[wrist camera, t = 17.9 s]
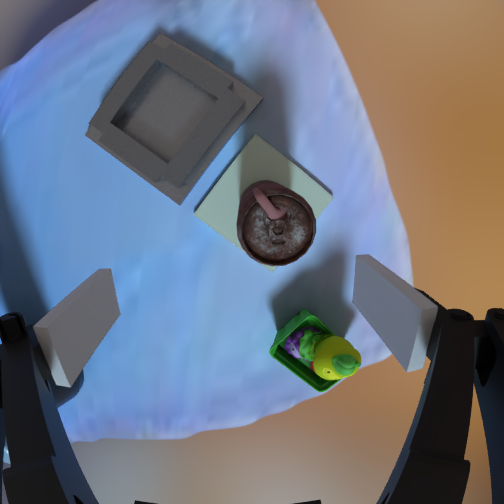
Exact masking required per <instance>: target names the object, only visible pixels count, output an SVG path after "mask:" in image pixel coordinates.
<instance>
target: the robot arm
mask: <svg viewBox="0 0 504 504" xmlns="http://www.w3.org/2000/svg"><path fill="white" fill-rule="evenodd" d="M352 302H353V304H354V305H355V306H356V307H357V309H358V310H359V311H360V312H361V314H362V315H363V316H364V317H365V319H366V320H367V321H368V322H369V324H370V325H371V326H372V328H373V329H374V330H375V331H376V333H377V334H378V335H379V337H380V338H381V339H382V340H383V342H384V343H385V344H386V346H387V347H388V348H389V350H390V351H391V352H392V353H393V355H394V356H395V357H396V359H397V360H398V361H399V363H400V364H401V365H402V367H403V368H404V369H405V371H406V372H410V371H414V370H418V369H421V368H423V364H424V361H425V358H426V356H427V357H428V358H429V359H430V360H431V363H430V366H429V369H428V372H427V375H426V378H425V381H424V388H423V391H422V395H421V398H420V401H419V404H418V407H417V410H416V413H415V416H414V419H413V422H412V425H411V427H410V430H409V433H408V435H407V438H406V441H405V443H404V446H403V448H402V451H401V453H400V455H399V458H398V460H397V462H396V465H395V467H394V469H393V471H392V474H391V476H390V478H389V480H388V482H387V484H386V486H385V488H384V490H383V492H382V494H381V496H380V498H379V500H378V502H377V503H376V504H462V501H463V497H464V493H465V489H466V485H467V481H468V477H469V472H470V462H469V461H468V460H464V454H465V449H466V444H467V437H468V432H469V425H470V417H471V408H472V397H473V384H474V386H475V389H476V393H477V398H478V402H479V406H480V411H481V415H482V420H483V426H484V431H485V436H486V443H487V449H488V457H489V465H490V475H491V488H492V504H504V309H502V308H491V309H489V310H488V311H487V314H486V318H485V320H474V318H473V316H472V315H471V314H470V313H468V312H466V311H464V310H461V309H448V310H447V309H445V308H444V307H443V306H442V305H440V304H439V303H438V302H437V301H434V299H433V298H431V297H429V295H427V294H426V293H425V292H424V291H421V290H419V289H416V288H414V287H412V286H411V285H410V284H408V283H407V282H406V281H404V280H403V279H402V278H400V277H399V276H398V275H396V274H395V273H394V272H392V271H391V270H390V269H388V268H387V267H385V266H384V265H383V264H381V263H380V262H379V261H377V260H376V259H374V258H373V257H372V256H370V255H369V254H367V255H356V263H355V278H354V290H353V301H352ZM119 316H120V310H119V306H118V301H117V297H116V292H115V287H114V282H113V277H112V272H111V269H98V270H97V271H96V272H95V273H94V274H92V275H91V276H90V277H89V278H88V279H86V280H85V281H84V282H83V283H82V284H80V285H79V286H78V287H77V288H76V289H74V290H73V291H72V292H71V293H70V294H69V295H68V296H66V297H65V298H64V299H63V300H62V301H61V302H60V303H58V304H57V305H56V306H55V307H54V308H53V309H52V310H51V311H49V312H48V313H47V314H46V315H45V316H44V317H43V318H41V319H40V320H39V321H38V322H37V323H36V324H35V325H34V326H28V327H26V326H25V323H24V320H23V317H22V314H21V313H19V312H12V313H8V314H5V315H3V316H1V317H0V338H1V341H2V344H0V504H2V471H3V481H4V486H5V490H6V495H7V499H8V503H9V504H99V503H98V501H97V500H96V498H95V496H94V494H93V492H92V490H91V488H90V486H89V484H88V483H87V480H86V478H85V476H84V474H83V472H82V470H81V468H80V466H79V464H78V461H77V459H76V457H75V454H74V452H73V450H72V447H71V445H70V442H69V440H68V437H67V435H66V432H65V429H64V427H63V424H62V421H61V418H60V415H59V412H58V409H57V408H58V407H60V406H61V405H63V404H65V403H66V402H68V401H69V400H71V399H72V398H74V397H75V396H76V395H77V394H78V392H79V390H80V389H81V387H82V385H83V382H84V376H83V371H82V369H83V368H84V366H85V365H86V363H87V362H88V360H89V359H90V357H91V356H92V354H93V353H94V351H95V350H96V348H97V347H98V346H99V344H100V343H101V341H102V340H103V338H104V337H105V335H106V334H107V333H108V331H109V330H110V328H111V327H112V325H113V324H114V323H115V321H116V320H117V318H118V317H119ZM3 461H4V462H6V463H9V464H11V467H10V468H7V469H4V470H2V469H3ZM134 504H156V503H148V502H141V501H135V503H134ZM294 504H321V501H320V500H315V501H309V502H302V503H294Z"/></svg>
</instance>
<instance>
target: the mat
mask: <svg viewBox="0 0 504 504" xmlns="http://www.w3.org/2000/svg"><path fill="white" fill-rule="evenodd" d="M261 180H270V181H274V182H277V183H279V184H281V185H283V186H285V187H287V188H289V189H291V190H293V191H294V192H296V193H297V194H299V195H300V196H302V197H303V198H304V199H305V200H306V201H307V202H308V204H309V205H310V206H311V208H312V210H313V213H314V216H315V218H316V219H317V218H318V217H319V215H320V214H321V213H322V212H323V210H324V209H325V208H326V207H327V205H328V204H329V203H330V202H331V200H332V199H333V198H334V197H333V196H332V195H330V194H329V193H328V192H327V191H326V190H325V189H324V188H322V187H321V186H320V185H319V184H318V183H316V182H315V181H314V180H313V179H312V178H311V177H309V176H308V175H307V174H306V173H305V172H303V171H302V170H301V169H300V168H298V167H297V166H296V165H295V164H294V163H292V162H291V161H290V160H289V159H287V158H286V157H285V156H284V155H282V154H281V153H280V152H278V151H277V150H276V149H275V148H273V147H272V146H271V145H269V144H268V143H267V142H265V141H264V140H263V139H262V138H260V137H259V136H258V135H256V134H255V135H254V136H253V138H252V139H251V140H250V141H249V143H248V144H247V145H246V146H245V148H244V149H243V150H242V151H241V153H240V154H239V155H238V156H237V158H236V159H235V160H234V161H233V163H232V164H231V165H230V167H229V168H228V169H227V171H226V172H225V173H224V174H223V176H222V177H221V178H220V180H219V181H218V182H217V184H216V185H215V186H214V188H213V189H212V190H211V192H210V193H209V194H208V196H207V197H206V198H205V200H204V201H203V202H202V204H201V205H200V207H199V208H198V209H197V211H196V212H195V213H194V216H196V217H197V218H199V219H200V220H201V221H203V222H204V223H205V224H207V225H208V226H209V227H211V228H212V229H213V230H215V231H216V232H218V233H219V234H220V235H222V236H223V237H224V238H226V239H227V240H228V241H230V242H231V243H233V244H234V245H235V246H237V247H238V248H239V249H241V250H242V251H243V252H245V251H244V250H243V249H242V247H241V244H240V242H239V240H238V237H237V226H236V224H237V216H238V209H239V203H240V199H241V196H242V194H243V192H244V191H245V189H246V188H247V187H249V186H250V185H251V184H252V183H255V182H258V181H261ZM245 253H246V252H245ZM246 254H247V253H246ZM258 263H259V262H258ZM260 264H261V263H260ZM261 265H263V266H264V267H265V268H267V269H268V270H269V271H271V272H273V271H274V270H275V269H276V268H277V266H269V265H265V264H261Z"/></svg>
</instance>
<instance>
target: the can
mask: <svg viewBox="0 0 504 504" xmlns="http://www.w3.org/2000/svg"><path fill="white" fill-rule="evenodd" d="M236 226H237V237H238V240H239V242H240V244H241V247H242V249H243V250H244V251H245V252H246V253H247V254H248V255H249V257H250V258H252V259H254V260H255V261H257V262H259V263H261V264H265V265H269V266H284V265H287V264H290V263H292V262H295V261H297V260H298V259H299V258H301V257H302V256H303V255H304V254H306V252H307V251H308V249H309V248H310V246H311V245H312V243H313V240H314V237H315V234H316V218H315V216H314V213H313V210H312V208H311V206H310V205H309V204H308V202H307V201H306V200H305V199H304V198H303V197H302V196H300V195H299V194H297V193H296V192H294V191H293V190H291V189H289V188H287V187H285V186H283V185H281V184H279V183H277V182H274V181H270V180H261V181H258V182H255V183H252V184H251V185H250V186H249V187H247V188H246V189H245V191H244V192H243V194H242V196H241V199H240V203H239V209H238V216H237V224H236Z"/></svg>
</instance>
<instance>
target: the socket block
mask: <svg viewBox="0 0 504 504" xmlns="http://www.w3.org/2000/svg"><path fill="white" fill-rule="evenodd" d="M262 100H263V97H261V96H260V95H259V94H257V93H256V92H254V91H253V90H252V89H250V88H249V87H247V86H246V85H244V84H243V83H242V82H240V81H239V80H237V79H236V78H234V77H233V76H231V75H230V74H228V73H227V72H225V71H223V70H222V69H220V68H219V67H217V66H216V65H214V64H212V63H211V62H209V61H208V60H206V59H204V58H203V57H201V56H199V55H198V54H196V53H194V52H193V51H191V50H189V49H188V48H186V47H184V46H182V45H181V44H179V43H177V42H175V41H173V40H172V39H170V38H168V37H166V36H164V35H162V34H159V35H158V36H157V37H156V38H155V39H154V41H153V42H151V41H149V42H148V44H147V45H146V46H145V47H144V48H143V49H142V51H141V52H140V53H139V54H138V55H137V57H136V58H135V59H134V60H133V62H132V63H131V64H130V65H129V67H128V68H127V69H126V70H125V72H124V73H123V74H122V76H121V77H120V78H119V80H118V81H117V82H116V84H115V85H114V87H113V88H112V89H111V91H110V92H109V94H108V95H107V97H106V98H105V99H104V101H103V102H102V104H101V105H100V107H99V108H98V110H97V111H96V113H95V115H94V116H93V118H92V119H91V121H90V122H89V124H90V125H91V126H90V127H89V129H88V131H87V132H86V134H85V136H87V137H88V138H89V139H91V140H92V141H93V142H95V143H96V144H97V145H99V146H100V147H101V148H103V149H104V150H106V151H107V152H108V153H110V154H111V155H112V156H114V157H115V158H116V159H118V160H119V161H120V162H122V163H123V164H124V165H126V166H127V167H128V168H130V169H131V170H132V171H134V172H135V173H136V174H138V175H139V176H140V177H142V178H143V179H144V180H146V181H147V182H149V183H150V184H151V185H153V186H154V187H155V188H157V189H158V190H159V191H161V192H162V193H163V194H165V195H166V196H167V197H169V198H170V199H172V200H173V201H174V202H176V203H177V204H178V205H181V204H182V203H183V201H184V200H185V198H186V197H187V196H188V194H189V193H190V191H191V190H192V189H193V187H194V186H195V184H196V183H197V182H198V180H199V179H200V178H201V176H202V175H203V174H204V172H205V171H206V170H207V168H208V167H209V166H210V164H211V163H212V162H213V160H214V159H215V158H216V156H217V155H218V154H219V153H220V151H221V150H222V149H223V147H224V146H225V145H226V144H227V142H228V141H229V140H230V138H231V137H232V136H233V135H234V133H235V132H236V131H237V130H238V129H239V127H240V126H241V125H242V124H243V122H244V121H245V120H246V119H247V118H248V116H249V115H250V114H251V113H252V112H253V110H254V109H255V108H256V107H257V106H258V104H259V103H260V102H261V101H262Z"/></svg>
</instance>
